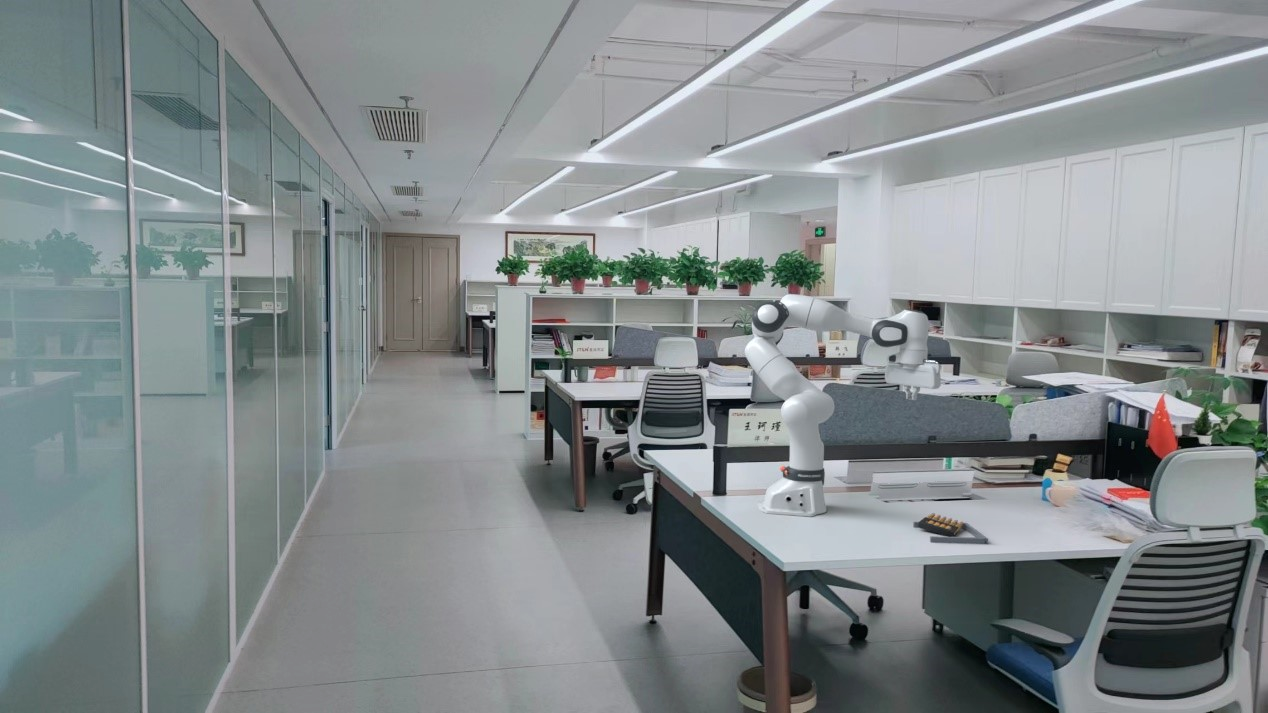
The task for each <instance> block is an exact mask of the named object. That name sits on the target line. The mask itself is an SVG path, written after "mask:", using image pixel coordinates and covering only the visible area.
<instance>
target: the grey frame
mask: <svg viewBox="0 0 1268 713" xmlns="http://www.w3.org/2000/svg"><path fill="white" fill-rule="evenodd" d="M958 523H959V522H957V524H958ZM918 524H919V521H913V522H912V527H913V528H916V529H917V528H918ZM918 529H919V528H918ZM959 530H965V531H966V532H968V533H969V534H970V535H972V536H973V537H969V536H968V537H967V536H954V537H948V536H939V535H938V536H937V535H936V536H933V535H932V536H929V542H930V543H931V544H932V543H935V544H937V543H938V544H963V545H964V544H965V545H966V544H967V545H968V544H969V545H970V544H971V545H988V544H989V538H988V537H987V536H986V535H984V534H982V533H981V532H980V531H978V530H977V529H976V528H975V527H973V526H971V524H969V523H968V522H963V525H962V527H961V528H960V529H959Z"/></svg>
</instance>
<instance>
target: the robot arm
mask: <svg viewBox="0 0 1268 713" xmlns="http://www.w3.org/2000/svg"><path fill="white" fill-rule="evenodd" d="M787 327H799V328H802V329H805V330H810V331H815V332H825V333H826V332H828V333H829V332H834V331H845V332H848V333H854V334H857V335H862V336H866V337H868V338H870V339H872V340H873V341H874V343H875V344H876V345H877V346H878V347H881V348H886V349H887V348H892V347H897V346H899V352H895V353H893V354H889V355H887V356H886V361H887V363H886V364H885V365H886V366H885V371H884V381H885V382H886V384H893V385H897V386H898V385H899V386H903V390H904V392H905V394H906V395H905V398H906V400H908V401H909V400H911V401H917V398H918V394H919V393H920V391H921V389H922V388H923V389H930V390H936V389H939V388H940V387H941V383H942V380H941V365H940V364H939V362H938V361H937V360H934V359H933V360H930V359H928V353H929V352H928V350H929V349H928V344H927V343H928V339H929V329H930V328H929V317H928V315H927V314H926V313H924V312H923V311H920V310H917V309H911V308H904V309H903V310H902V311H901V312H899V313H897V314H894V315H892V316H888V317H887V316H886V317H880V318H873V317H872V318H871V317H867V316H863V315H860V314H859V315H858V314H855V313H851V312H848V311H846V310H844V309H843V308H840V307H839V306H837V305H835V304H833V303H832V302H829V301H826V300H824V299H821V298H817V297H814V296H809V295H804V294H795V293H794V294H793V293H791V294H790V293H788V294H786V295H784V296H783V297H782V298H781V299H780V301H779V300H775V301H766V302H762V303H760V304H758V305H757V306H756V307H755V309H754V310H753V312H752V314H751V332H752V339H751V340H750V341H749V342H748V343H747V344H746V346H745V348H744V356H745V358H746V360H747V362H748V363H749V365H750V366H751V368H752V369H753V371H754V372H755V373H756V375H757V376H758V378H760V379H761V381H762V382H763V383H764V384H765V386H766V387H767V389H769V391H770V392H771V393H772V394H774V395H775V396H777V397H779V398H780V399H782V400H784V402H783V403H782V405H781V407H780V408H781V409H780V415H781V419H782V421H783V422H784V423H785V426H786V429H787V434H788V439H789V440H788V441H789V460H788V461H789V463H788V464H789V465H787V466H785V465H781V466H780V468H779V470H780V471H781V472H782V477H781V478H780V479H778V480H776V482H773V483H772V484H771V485H770V486H768V487H767V489H766V491H765V495H764V499H763V500H762V499H761V500H760V501H758V502H757V508H758V510H759V511H761V512H762V513H765V514H770V515H773V514H774V515H783V516H785V515H786V516H796V517H797V516H798V517H799V516H801V517H813V516H814V517H815V516H817V515H820V514H824V513H826V512H827V507H826V501H825V494H824V485H825V478H826V476H825V475H826V472H825V468H824V462H825V461H824V459H825V457H824V456H825V444H824V442H823V441H822V439H821V434H820V428H819V427H820V426H819V424H822V423H825V422H826V421H828V420H829V419H830V418H831V417H832V416H833V414H834V412H835V407H836V406H835V401H834V399H833V398H832V397H831V395H830V394H829V393H827V392H824V391H823V390H821V389H820V388H818V387H817V386H816V385H815V384H814V383H813V382H811V380H809V379H808V378H806V377H805V376H804V375H803V374H802V373H801V372H800V371H798V370H797V368H796V367H795V366H794V365H793V364H792V363H791V362H790V360H789V359H788V358H787V357H786V355H784V353H783V352H782V351H781V350H780V349H779V347H778V344H779V343H780V342H781V340H782V339H783V336H784V329H785V328H787ZM911 389H912V390H913V392H912V391H911Z"/></svg>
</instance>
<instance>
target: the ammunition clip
mask: <svg viewBox="0 0 1268 713" xmlns="http://www.w3.org/2000/svg"><path fill="white" fill-rule="evenodd" d="M941 516H942V515H941V514H937V515H936V513H934V512H933V513H931V514H929V515H927V516H924V517H923V518H922V519H921V520H920V521H918V522H919V524H918V529H922V530H926V531H928V532H932V533H935V534H939V535H941V536H943V537H956V535H957V534H958V533H959V530H961V529H960V528H961V527H962V525H963V523H964V521H960V522H958V519H955V520H953V518H951V517H950V518H947V516H943V517H942V518H941ZM957 523H958V524H957Z"/></svg>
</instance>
